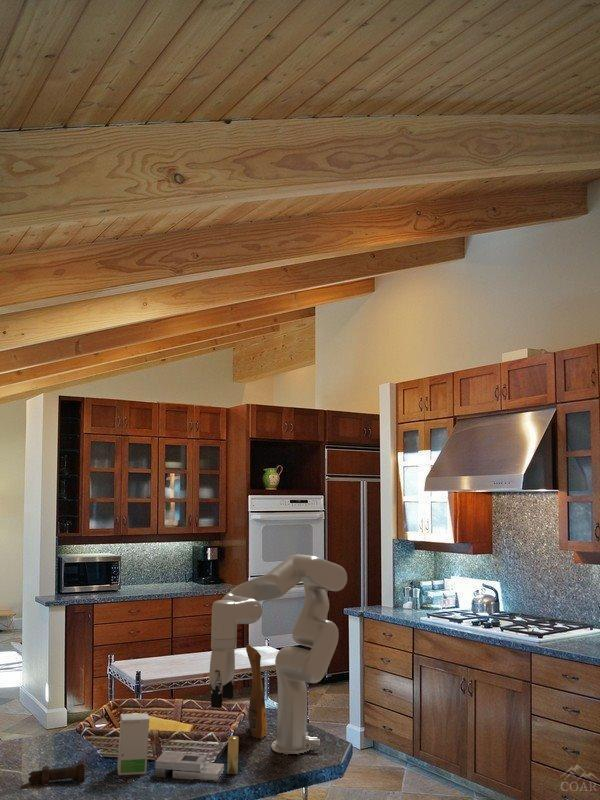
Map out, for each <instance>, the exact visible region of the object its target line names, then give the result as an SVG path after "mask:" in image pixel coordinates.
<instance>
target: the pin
mask: <svg viewBox="0 0 600 800" xmlns="http://www.w3.org/2000/svg"><path fill="white" fill-rule="evenodd" d="M227 739H228V741H227V765H226V766H227V768H226V769H227V770H226V771H227V773H228V774H227V775H229V774H233V775H232V776H234V774H236V775H237V774H238V768H239V766H238V765H239V739H240V738H239V736H237V735H232V736H229V737H228V738H227Z"/></svg>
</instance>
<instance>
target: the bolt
mask: <svg viewBox="0 0 600 800" xmlns="http://www.w3.org/2000/svg"><path fill="white" fill-rule="evenodd" d="M85 763H86V762H85V760H78V765H73V766H66V767H65V766H64V767H57V768H50V766H49V765H44V766H43V767H42V768H41V770H33V771H30V773H28V776H29V777H28V778H27V779H28V783H29V784H37V783H41V785H42V786H45V785H44V784H48V785H49V784H50V782H55V781H63V780H77V779H78V782H79V783H83V782H85V780H86V779H85V777H86V776H85V775H86V772H85V771H86V770H85V769H86V767H85V766H86V765H85Z"/></svg>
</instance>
